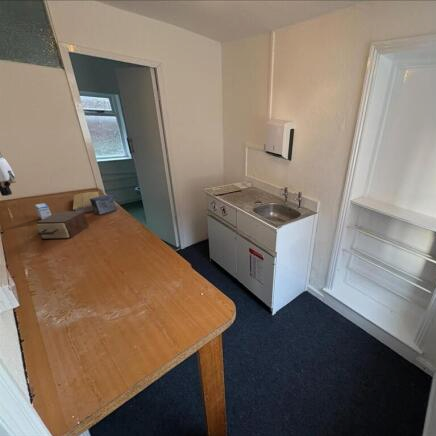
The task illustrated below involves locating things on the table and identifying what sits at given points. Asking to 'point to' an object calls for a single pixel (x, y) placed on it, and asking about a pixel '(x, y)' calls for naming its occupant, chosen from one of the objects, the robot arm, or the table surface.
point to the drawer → (53, 230)
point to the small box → (103, 204)
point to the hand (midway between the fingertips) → (7, 194)
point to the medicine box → (43, 210)
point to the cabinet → (68, 221)
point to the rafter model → (84, 201)
